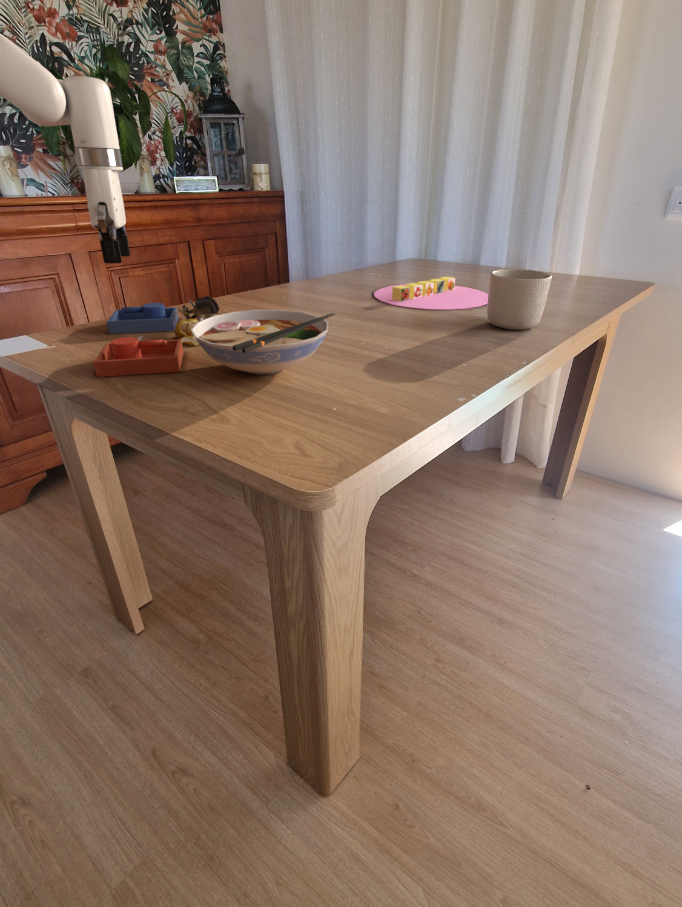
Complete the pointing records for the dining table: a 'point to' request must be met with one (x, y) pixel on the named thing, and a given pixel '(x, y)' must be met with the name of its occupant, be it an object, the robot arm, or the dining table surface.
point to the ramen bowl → (261, 339)
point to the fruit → (186, 331)
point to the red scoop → (132, 347)
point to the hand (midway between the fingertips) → (118, 259)
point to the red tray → (141, 360)
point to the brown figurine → (201, 308)
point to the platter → (432, 295)
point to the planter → (517, 298)
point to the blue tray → (141, 322)
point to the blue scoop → (148, 310)
